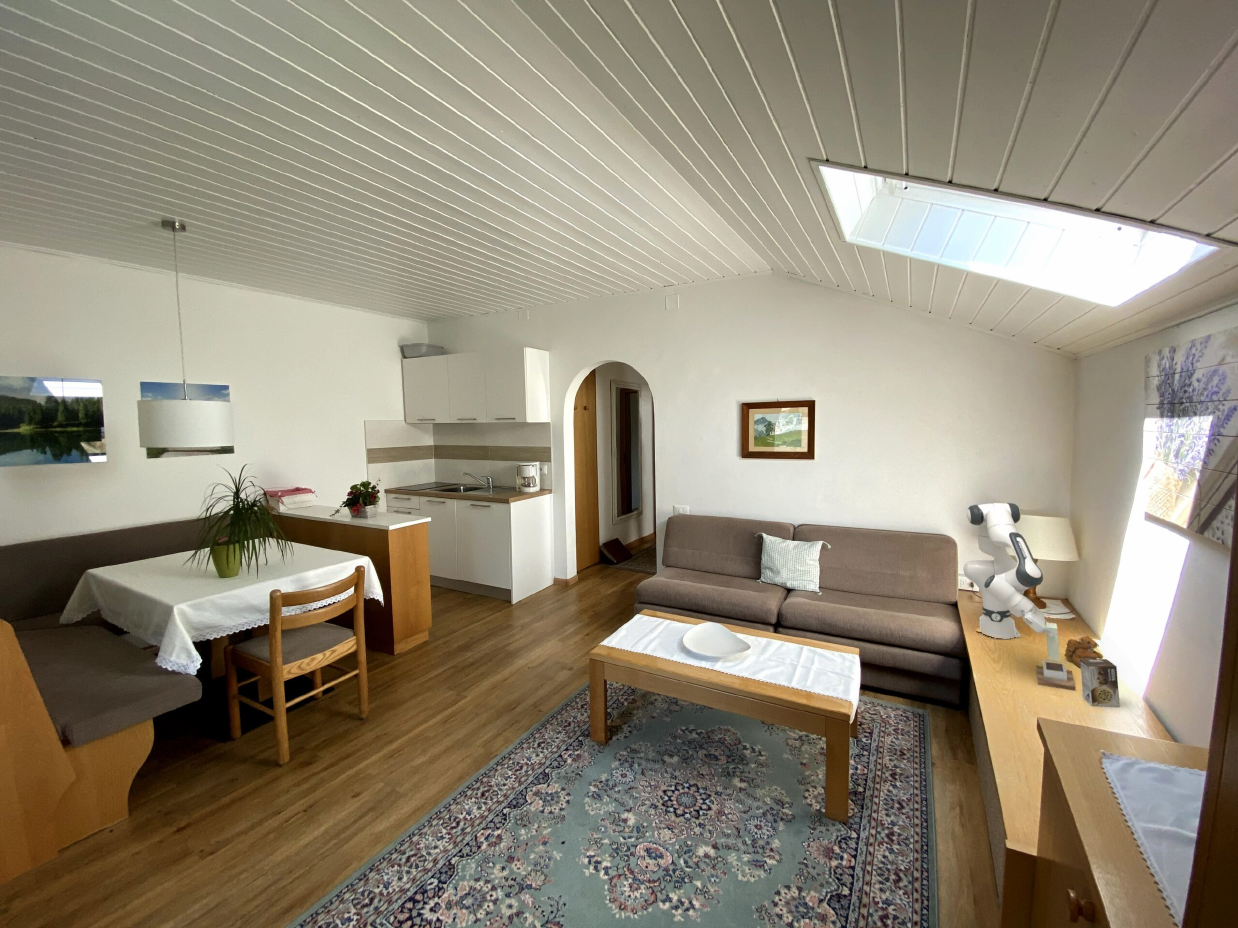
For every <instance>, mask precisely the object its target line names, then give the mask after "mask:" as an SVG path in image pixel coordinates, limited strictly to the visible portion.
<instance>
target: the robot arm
mask: <svg viewBox="0 0 1238 928" xmlns="http://www.w3.org/2000/svg"><path fill="white" fill-rule="evenodd" d="M1021 515H1022V514H1021V510H1020V507H1019V505H1017V504H1016V503H1011V502H1005V503H1004V502H990V503H983V504H973V505H969V507H968V508H967V511H966V518H967V520H968V522H969V523H970V524H971V525H973V526H977V540H978V541H977V542H978V549H979V550H980V551H981V552H982V553H984V554H986V555H988V556H989V557H990V556H991V557H992V558H994V559H992V560H988V559H987V560H986V559H985V560H984V559H982V560H981V559H977V560H975V559H974V560H970V561H967V562H965V563H964V566H963V574H964V576H965V577H966V579H968V580H970V581H971V582H973V583H974V584H975V585H976V587H977V588H978V589H979V591H980V594H981V599H982V607H981V611H982V615H980V616H979V626H980V631H981V632H983V633H985V634H987V635H989V636H992V637H996V638H1003V639H1002V640H1011V639H1014V637H1016V638H1022V637H1021V636H1022V635H1021V634H1020V632H1019V630H1018V629H1017V626H1016V624H1015V620H1014V619H1013V618H1012V617H1011V614H1013V615H1014V616H1015V617H1016V618H1020V617H1021V618H1022V619H1023V622H1025V623H1026V625H1027V626H1028V627H1030V628H1031V629H1032V630H1033V631H1034V632H1036V633H1037V634H1042V633H1044V634H1045V635H1046V636H1047V635H1049V636H1050V637H1053V636H1054V633H1053V632H1052V631H1050V630H1048V629H1047V628H1046V623H1049V622H1048V621H1047V619H1045V614H1044V612H1043V611H1042V610H1041V609H1039V608H1038V606H1036V605H1035V604H1034V603H1033V602H1032V599H1030V598H1029V597H1027V596H1025V595H1024V594H1022V592H1025V591H1027V590H1029V589H1031V588H1033V587H1037V586H1039V585H1041V584H1042V583H1043V581H1044V575H1043V572H1042V569H1040V567H1039V566H1038V564H1037V562H1036V561H1035V558H1034V556H1033V555H1032V551H1031V550H1030V548H1029V545H1028V543H1027V541H1026V538H1025V537H1024V536H1023V535H1022V534H1021V533H1019V532H1018V530H1017V527H1016V525H1015V524H1017V523H1019V521H1020V520H1021ZM1007 548H1011V549H1012V552H1013V554H1014V556H1015V559H1016V560H1015V559H1013V558H1012V557H1011V555H1010V554H1009V553H1008V551H1007ZM996 638H995V639H996ZM1010 638H1011V639H1010Z"/></svg>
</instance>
